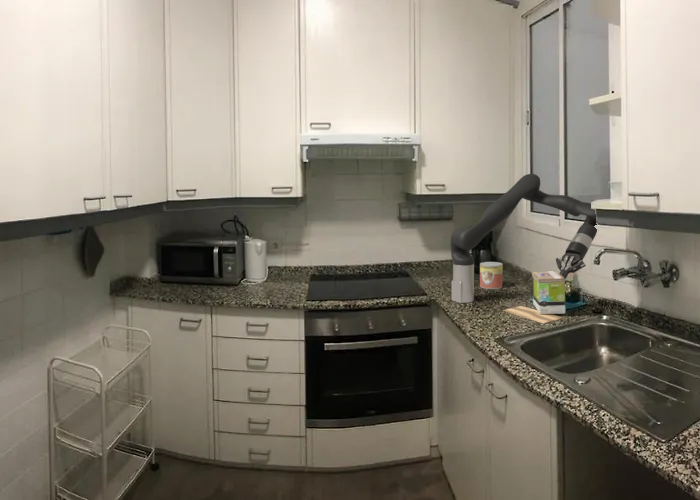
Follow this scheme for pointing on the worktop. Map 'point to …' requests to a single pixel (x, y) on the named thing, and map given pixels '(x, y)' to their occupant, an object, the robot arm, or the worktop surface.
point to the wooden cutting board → (532, 314)
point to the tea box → (548, 292)
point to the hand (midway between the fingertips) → (560, 278)
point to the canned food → (491, 275)
